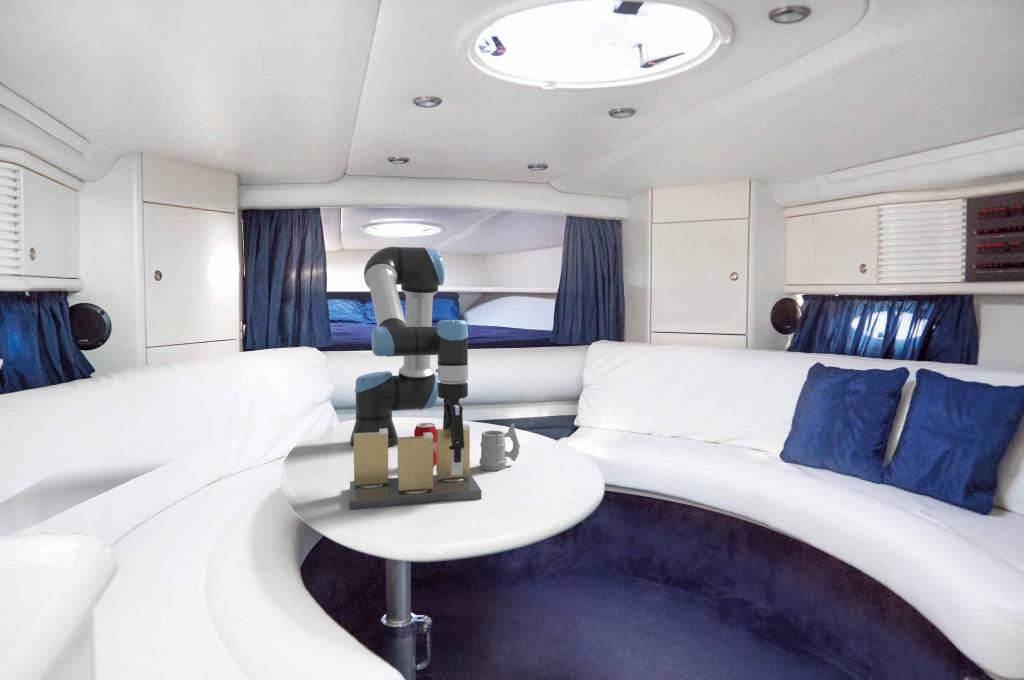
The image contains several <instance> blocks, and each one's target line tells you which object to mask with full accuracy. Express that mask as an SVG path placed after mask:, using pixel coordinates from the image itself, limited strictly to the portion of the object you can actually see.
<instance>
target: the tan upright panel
mask: <svg viewBox="0 0 1024 680" xmlns="http://www.w3.org/2000/svg"><path fill="white" fill-rule="evenodd" d="M470 428H471V427H470V425H469V424H468V423H467V424H464V423H463V434H464V445H465V446H464V448H463V475H454V476H451V449H449V447H450V446H452V441H451V430H450V428H448V429H443V428H436V465H435V466H436V472H435V473H436V474H435V475H436V476H437V478H438V479H446V478H460V477H470V474H471V472H470V471H471V469H470V468H471V466H470V463H471V462H470V461H471V460H470V455H471V454H470V452H471V450H470V447H471V446H470V444H471V443H470V442H471V441H470V440H471V439H470V438H471V437H470V435H471V434H470V432H471V430H470ZM456 443H459V442H456Z"/></svg>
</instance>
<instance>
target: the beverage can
mask: <svg viewBox="0 0 1024 680" xmlns="http://www.w3.org/2000/svg"><path fill="white" fill-rule="evenodd" d="M435 425H436V424H434V423H432V422H420V423H417V424H416V425H415V428H414V431H413V433H414V434H413V435H414V436H413V437H415V436H423V433H426V432H432V434H433V468H434V467H435V466H436V429H437V427H436V426H435Z"/></svg>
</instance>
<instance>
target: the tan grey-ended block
mask: <svg viewBox="0 0 1024 680" xmlns="http://www.w3.org/2000/svg"><path fill="white" fill-rule="evenodd" d="M433 475H434V467H433V434H432V432H426V433H423V436H415V437H414V436H400V437H398V443H397V478H398V490H399V491H406V490H419V489H432V488H433Z"/></svg>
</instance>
